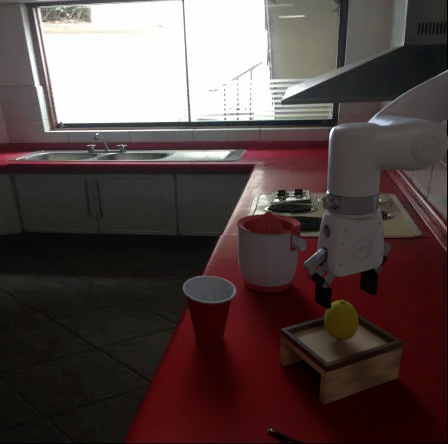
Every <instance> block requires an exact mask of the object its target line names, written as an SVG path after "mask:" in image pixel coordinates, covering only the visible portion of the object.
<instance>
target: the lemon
mask: <svg viewBox="0 0 448 444" xmlns="http://www.w3.org/2000/svg"><path fill="white" fill-rule="evenodd" d="M358 315H359V314H358V311H357V309H356V307H354V305H353V304H351V303H350V302H348V301H346V300H344V299H340V300H335V301H333V302H331V308H330V309H325V312H324V316H323V317H324V325H325V328H326V331H327V332H328V333H329V335H330V336H332V337H333V338H335V339H337V340H338V341H342V340H348V339H350V338H352V337H353V336H354V335H355V333H356V332H357V329H358V324H359V319H358Z"/></svg>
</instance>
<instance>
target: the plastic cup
mask: <svg viewBox="0 0 448 444" xmlns="http://www.w3.org/2000/svg"><path fill="white" fill-rule="evenodd" d="M182 291H183V293H184V296H185V299H186V302H187V305H188V311H189V315H190V320H191V325H192V327H193V332H194V336H195V339H196V341H198V342H199V343H200V344H202V345H206V346H207V345H208V346H213V345H217V344H219V343H221V342H222V341H223V339H224V337H225V330H226V327H227V322H228V317H229V312H230V307H231V305H232V301H233V298H234V297H235V296H236V294H237V287H236V286H235V285H234V284H233V282H231V281H229V280H228V279H226V278H223V277H220V276H216V275H197V276H193V277H191V278H188V279H187V280H186V281H185V282H184V283H183V285H182Z"/></svg>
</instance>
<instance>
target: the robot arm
mask: <svg viewBox="0 0 448 444" xmlns="http://www.w3.org/2000/svg"><path fill="white" fill-rule="evenodd" d="M447 120H448V69H447V70H445V71H443V72H440V73H439V74H437V75H435V76H433V77H431V78H429V79H428V80H426V81H423V82H421V83H420V84H418V85H416V86H414V87H413V88H411V89H409V90H407V91H406V92H404V93H402V94H401V95H399V96H398V97H397V98H395V99H394V100H393V101H391V102H390V103H388V104H387V105H386V106H385V107H384V108H381V110H380V111H378V112H377V113H376V114H374V115H373V116H372V117H371V118H370V119H368V121H366V122H365V121H364V122H360V121H359V122H347V123H340V124H337V125H335V126H333V127H332V128H331V130H330V132H329V137H328V157H327V158H328V160H327V183H326V184H327V185H326V200H324V201H323V202H322V207H323V209H324V210H325V211H323V214H322V218H321V222H320V227H319V232H318V240H317V250H316V252H315V253H314V254H312V255H311V256H310V257H309V258H308V259H306V261H304V263H302V267H303V269H304V271H305V273H306V276H307V277H308V278H309V279H310V280H311V281H312V282H313V283H315V286H314V287H315V289H314V302H315V303H316V304H317V305H319V306H321V307H322V308H324V309H325V310H326V309H330V308H331V303H332V301H333V299H332V297H333V288H332V287H331V286H330V285H331V284H332V282H333V280H334V279H335V277H336V278H344V277H349V276H352V275H356V274H360V278H359V289H360V290H361V291H363V292H365V293H367V294H368V295H370V296H373V297H374V296H377V294H378V285H379V274H381V273H382V271H383V265H384V264H385V263H386V262H387V259H388V255H389V253H390V251H391V249H392V244H391V243H388V242H386V241H385V229H384V219H383V213H382V209H381V208H379V200H380V199H379V198H380V187H381V176H382V171H384V170H387V171H388V170H389V171H407V172H409V171H410V172H414V171H415V172H416V171H421V170H426V169H429V168H431V167H433V166H435V165H436V164H438V163H439V162H440V161H441V160H442V159H443V158H444V156H445V155H446V153H447V151H448V134H447V132H446V131H445V130H444V128H443V126H440V125H439V123H442V122H444V121H447ZM317 267H318V268H317ZM326 272H327V274H326V275H325V273H326ZM324 275H325V276H324ZM323 276H324V277H323Z"/></svg>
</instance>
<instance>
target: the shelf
mask: <svg viewBox="0 0 448 444" xmlns="http://www.w3.org/2000/svg"><path fill="white" fill-rule="evenodd" d="M358 319H359V324H358V329H357V332H356V333H355V335H354V336H353V337H352V338H350V339H348V340H342V341H338V340H337V339H335V338H333V337H332V336H330V335H329V333H328V332H327V331H326V328H325V325H324V316H322V317H318V318H315V319H310V320H307V321H304V322H299V323H297V324H293V325H290V326H286V327H283V328H280V343H279V345H280V347H279V364H280V365H281V366H283V367H286V366H289V365H292V364H296V363H298V362H303V361H304V362H306V363H307V364H308V365H309V366H310V367H311V368H313V369H314V370H315V371H316V372H317V373H318V374H320V384H319V397H318V400H319V402H320V403H322V404H323V405H328V404H330V403H332V402H335V401H338V400H342V399H344V398H346V397H349V396H352V395H355V394H358V393H360V392H363V391H366V390H368V389H372V388H374V387H377V386H380V385H382V384H386V383H388V382H390V381H393V380H396V379H398V378H399V373H400V367H401V358H402V352H403V346H404V345H403V344H404V341H403V340H401V339H400V338H397V337H396V336H394V335H393V334H391V333H390V332H388V331H386V330H384V329H383V328H382V327H380V326H378V325H376V324H375V323H373V322H371V321H370V320H368V319H366V318H364V317H363V316H361V315H360V314H358Z"/></svg>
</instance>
